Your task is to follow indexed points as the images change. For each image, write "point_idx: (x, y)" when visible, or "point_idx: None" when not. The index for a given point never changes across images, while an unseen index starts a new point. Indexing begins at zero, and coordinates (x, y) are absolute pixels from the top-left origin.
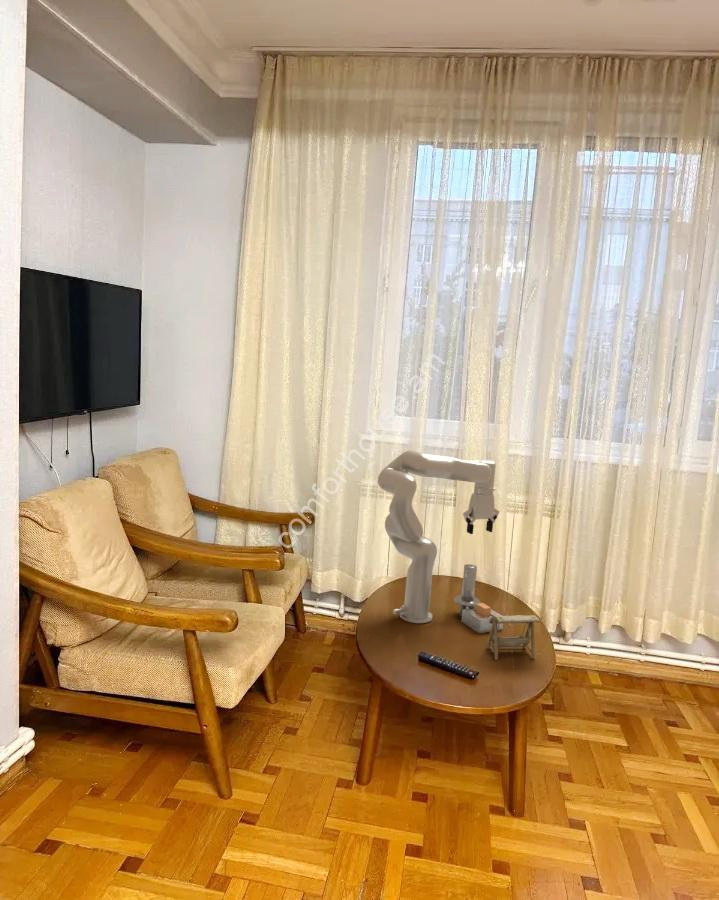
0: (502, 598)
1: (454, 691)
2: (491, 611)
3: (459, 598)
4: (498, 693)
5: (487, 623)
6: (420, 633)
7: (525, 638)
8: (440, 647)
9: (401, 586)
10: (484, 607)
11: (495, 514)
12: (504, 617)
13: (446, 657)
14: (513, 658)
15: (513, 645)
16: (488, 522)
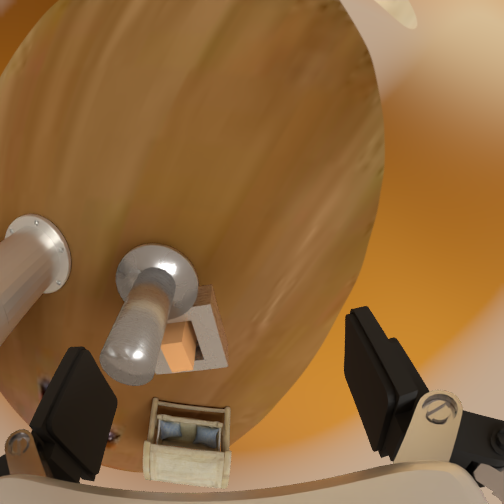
0: (355, 157)
1: None
2: (209, 338)
3: (133, 272)
4: (133, 462)
5: None
6: (42, 327)
7: (209, 450)
8: None
9: (60, 28)
10: (174, 367)
11: (495, 491)
12: (160, 478)
13: None
14: None
15: (194, 427)
16: (379, 418)
